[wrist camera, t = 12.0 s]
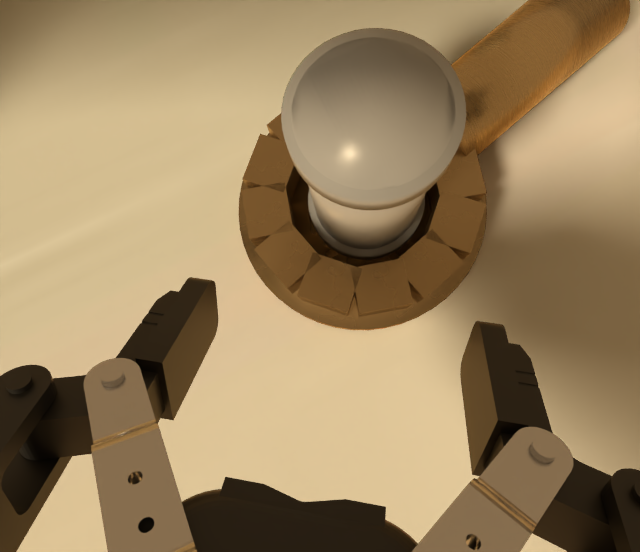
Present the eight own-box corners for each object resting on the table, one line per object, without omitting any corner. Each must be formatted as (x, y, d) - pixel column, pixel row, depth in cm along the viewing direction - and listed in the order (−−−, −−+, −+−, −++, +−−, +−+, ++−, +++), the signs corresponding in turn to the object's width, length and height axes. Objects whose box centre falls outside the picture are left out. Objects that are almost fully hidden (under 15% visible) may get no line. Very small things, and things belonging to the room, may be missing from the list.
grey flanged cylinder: (287, 200, 23) (244, 106, 14) (370, 131, 23) (380, -5, 14) (359, 282, 22) (363, 238, 13) (445, 209, 22) (506, 117, 13)
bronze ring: (195, 200, 24) (165, 171, 20) (488, -41, 25) (514, -114, 21) (348, 382, 22) (348, 389, 18) (658, 111, 23) (721, 62, 19)
